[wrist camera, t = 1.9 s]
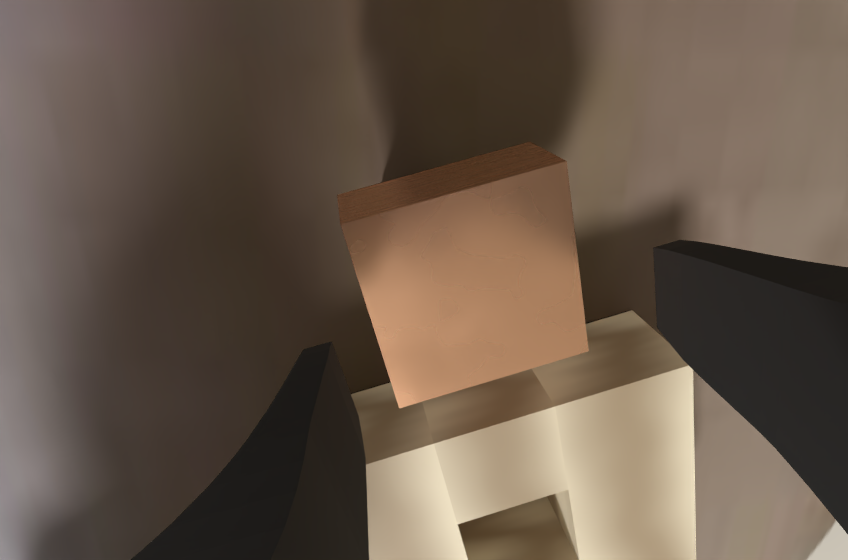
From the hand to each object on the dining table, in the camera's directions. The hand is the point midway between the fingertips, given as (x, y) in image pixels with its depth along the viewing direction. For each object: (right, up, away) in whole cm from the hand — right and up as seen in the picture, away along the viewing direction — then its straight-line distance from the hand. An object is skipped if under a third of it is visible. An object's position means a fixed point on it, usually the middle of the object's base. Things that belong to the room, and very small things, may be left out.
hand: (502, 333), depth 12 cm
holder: (+1, -7, +12) cm, 15 cm away
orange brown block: (-1, +3, +7) cm, 8 cm away
